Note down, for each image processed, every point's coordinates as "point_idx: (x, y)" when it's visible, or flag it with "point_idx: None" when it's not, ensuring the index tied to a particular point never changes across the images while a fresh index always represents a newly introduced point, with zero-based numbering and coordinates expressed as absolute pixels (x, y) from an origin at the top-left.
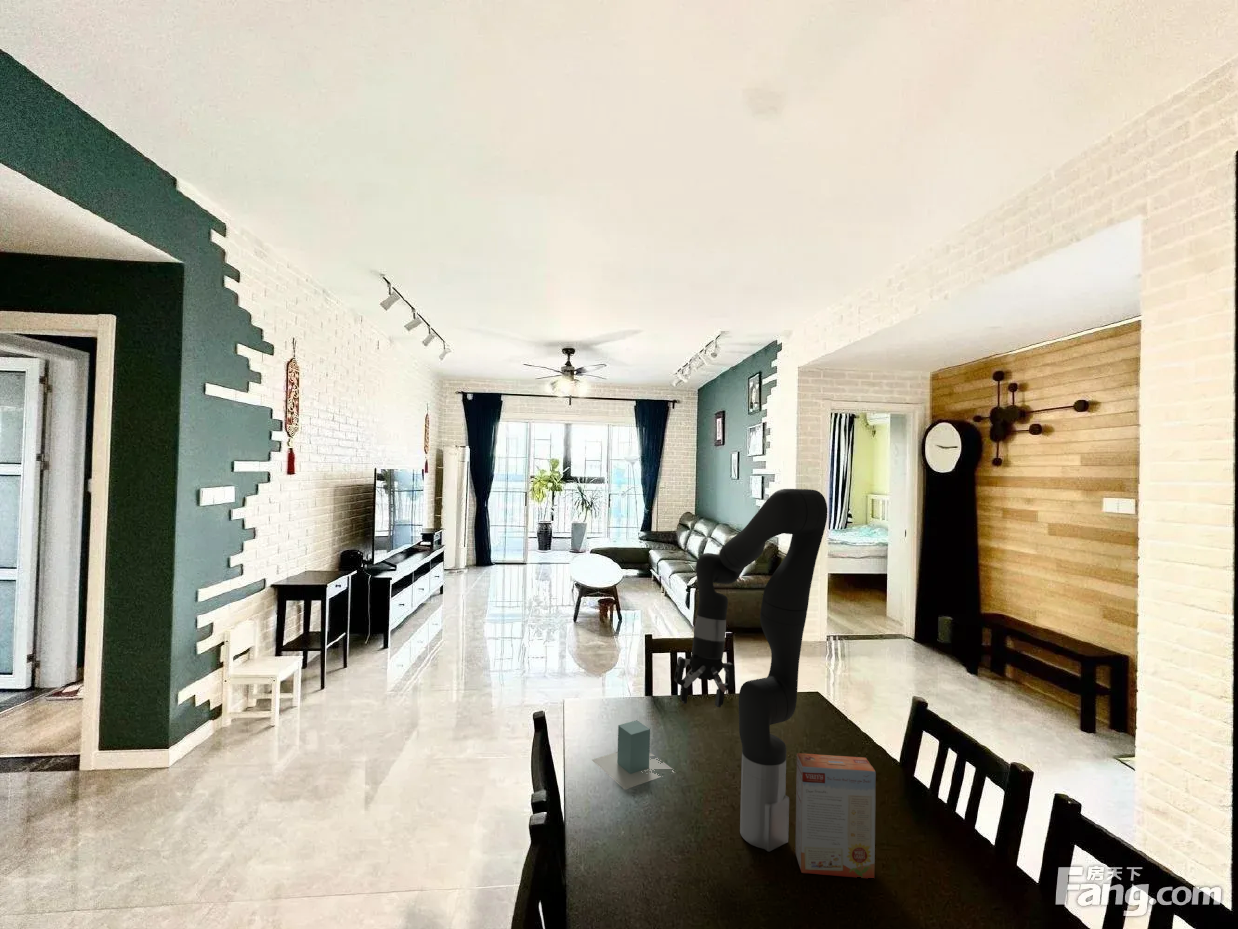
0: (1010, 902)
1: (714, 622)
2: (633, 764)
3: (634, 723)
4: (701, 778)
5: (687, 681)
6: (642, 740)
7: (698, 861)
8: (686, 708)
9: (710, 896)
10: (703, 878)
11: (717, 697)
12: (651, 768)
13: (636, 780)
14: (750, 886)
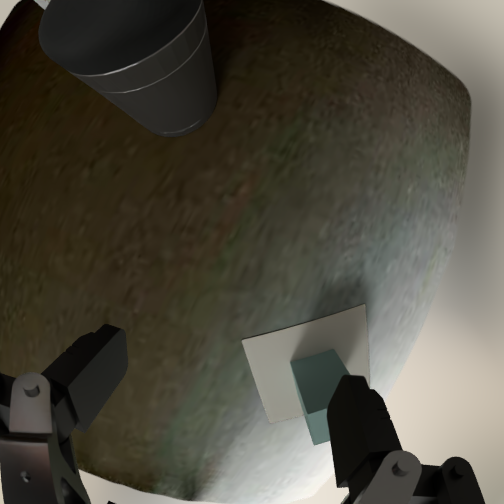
0: (26, 7)
1: None
2: (332, 359)
3: (327, 435)
4: (198, 306)
5: (403, 496)
6: (324, 393)
7: (323, 79)
8: (147, 474)
9: (333, 27)
10: (330, 51)
11: (100, 380)
12: (286, 359)
13: (333, 327)
14: (268, 19)
